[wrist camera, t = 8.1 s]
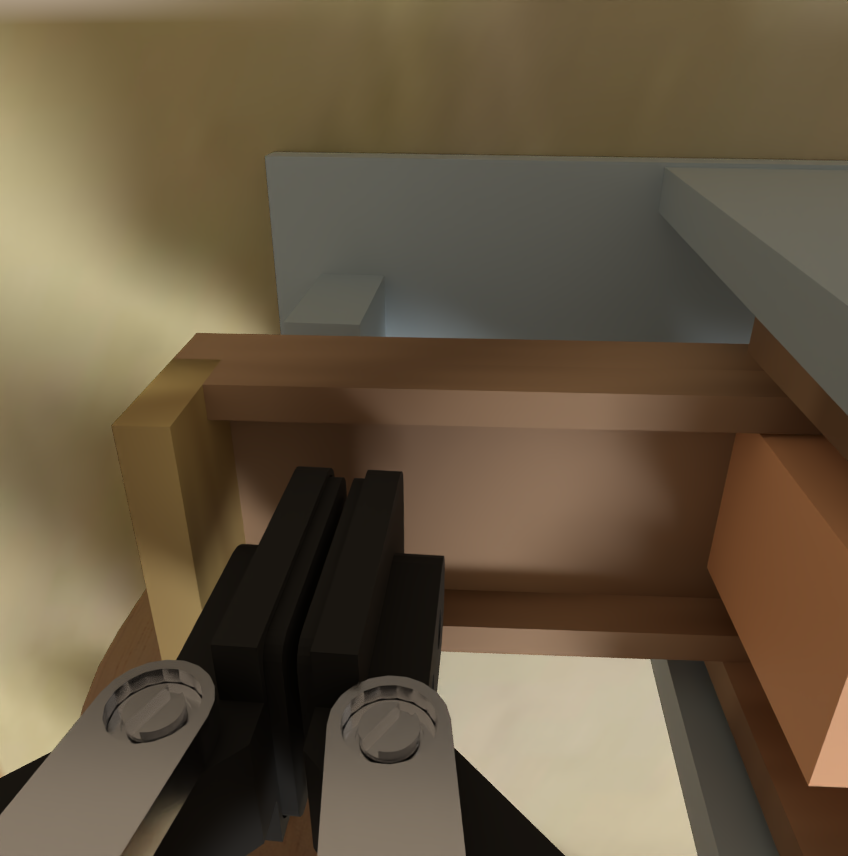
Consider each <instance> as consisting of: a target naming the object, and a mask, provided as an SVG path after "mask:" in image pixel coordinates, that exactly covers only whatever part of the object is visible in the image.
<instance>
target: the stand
mask: <svg viewBox="0 0 848 856" xmlns="http://www.w3.org/2000/svg"><path fill="white" fill-rule="evenodd" d="M265 164H266V175H267V186H268V197H269V208H270V219H271V230H272V241H273V252H274V263H275V274H276V285H277V296H278V307H279V318H280V329H281V335H319V336H371V337H422V338H473V339H524V340H576V341H627V342H678V343H729V344H749V342H750V338H751V333H752V329H753V324H754V319H755V316H756V318H757V319H758V320H759V321H760V322H761V323H762V324H763V325H764V326H765V327H766V328H767V329H768V330H769V332H770V333H771V334H772V335H773V336H774V337H775V338H776V339H777V340H778V341H779V342H780V343H781V344H782V345H783V347H784V348H785V349H786V350H787V351H788V352H789V353H790V354H791V355H792V356H793V357H794V358H795V359H796V361H797V362H798V363H799V364H800V365H801V366H802V367H803V368H804V369H805V370H806V371H807V372H808V373H809V375H810V376H811V377H812V378H813V379H814V380H815V381H816V382H817V383H818V384H819V385H820V386H821V387H822V388H823V390H824V391H825V392H826V393H827V394H828V395H829V396H830V397H831V398H832V399H833V400H834V401H835V402H836V404H837V405H838V406H839V407H840V408H841V409H842V410H843V411H844V412H845V413H846V414H847V415H848V161H841V160H776V159H711V158H646V157H581V156H517V155H452V154H387V153H322V152H272V153H270V154H268V155H266V156H265ZM650 660H651V664H652V668H653V672H654V676H655V681H656V685H657V689H658V693H659V697H660V701H661V705H662V710H663V714H664V718H665V722H666V726H667V730H668V734H669V738H670V743H671V747H672V751H673V755H674V759H675V763H676V767H677V772H678V776H679V780H680V784H681V788H682V792H683V796H684V801H685V805H686V809H687V813H688V817H689V821H690V825H691V830H692V834H693V838H694V842H695V846H696V850H697V854H698V856H779V853H778V851H777V848H776V846H775V843H774V840H773V838H772V835H771V833H770V830H769V828H768V825H767V822H766V820H765V817H764V815H763V812H762V810H761V807H760V804H759V802H758V799H757V797H756V794H755V791H754V789H753V786H752V784H751V781H750V779H749V776H748V773H747V771H746V768H745V766H744V763H743V761H742V758H741V755H740V753H739V750H738V748H737V745H736V743H735V740H734V737H733V735H732V732H731V730H730V727H729V725H728V722H727V719H726V717H725V714H724V712H723V709H722V707H721V704H720V701H719V699H718V696H717V694H716V691H715V689H714V686H713V683H712V681H711V678H710V676H709V673H708V671H707V668H706V665H705V663H704V661H691V660H664V659H650Z"/></svg>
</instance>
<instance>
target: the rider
mask: <svg viewBox="0 0 848 856" xmlns="http://www.w3.org/2000/svg"><path fill="white" fill-rule="evenodd" d="M707 569H708V571H709V573H710V575H711V577H712V579H713V582H714V584H715V586H716V588H717V590H718V592H719V594H720V597H721V599H722V601H723V603H724V605H725V607H726V610H727V612H728V614H729V616H730V618H731V620H732V622H733V625H734V627H735V629H736V631H737V633H738V635H739V638H740V640H741V642H742V644H743V646H744V648H745V650H746V653H747V655H748V657H749V659H750V661H751V663H752V666H753V668H754V670H755V672H756V674H757V676H758V679H759V681H760V683H761V685H762V687H763V689H764V691H765V694H766V696H767V698H768V700H769V702H770V704H771V707H772V709H773V711H774V713H775V715H776V717H777V719H778V722H779V724H780V726H781V728H782V730H783V732H784V735H785V737H786V739H787V741H788V743H789V745H790V747H791V750H792V752H793V754H794V756H795V758H796V760H797V763H798V765H799V767H800V769H801V771H802V773H803V775H804V778H805V780H806V782H807V784H808V786H822V787H846V788H848V461H847V460H846V459H845V458H844V457H843V456H842V455H841V454H840V453H839V452H838V450H837V449H836V448H835V447H834V446H833V445H832V444H831V443H830V442H829V441H828V440H827V438H826V437H825V436H824V435H804V434H763V433H736V436H735V440H734V445H733V449H732V454H731V459H730V463H729V468H728V472H727V477H726V482H725V486H724V491H723V495H722V500H721V504H720V509H719V514H718V518H717V523H716V527H715V532H714V537H713V541H712V546H711V550H710V555H709V560H708V564H707Z"/></svg>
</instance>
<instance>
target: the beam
mask: <svg viewBox="0 0 848 856" xmlns="http://www.w3.org/2000/svg"><path fill="white" fill-rule="evenodd" d="M112 430H113V435H114V440H115V444H116V449H117V454H118V458H119V463H120V468H121V472H122V477H123V482H124V486H125V491H126V496H127V500H128V505H129V510H130V514H131V519H132V524H133V528H134V533H135V538H136V542H137V547H138V551H139V556H140V561H141V565H142V570H143V575H144V579H145V584H146V589H147V593H148V598H149V603H150V607H151V612H152V617H153V621H154V626H155V631H156V635H157V640H158V645H159V649H160V654H161V659H162V660H176V659H177V657H178V655H179V654H180V652H181V650H182V648H183V646H184V644H185V642H186V640H187V638H188V637H189V635H190V633H191V631H192V629H193V627H194V625H195V623H196V621H197V619H198V618H199V616H200V614H201V612H202V610H203V608H204V606H205V604H206V602H207V601H208V599H209V597H210V595H211V593H212V591H213V589H214V587H215V585H216V583H217V582H218V580H219V578H220V576H221V574H222V572H223V570H224V568H225V566H226V565H227V563H228V561H229V559H230V557H231V555H232V553H233V551H234V550H235V549H236V547H237V546H238V545H240V544H254V545H259V543H260V540H261V538H262V536H263V534H264V532H265V530H266V528H267V526H268V524H269V522H270V520H271V518H272V516H273V514H274V512H275V510H276V507H277V505H278V503H279V501H280V499H281V497H282V495H283V493H284V491H285V489H286V487H287V485H288V483H289V481H290V479H291V477H292V474H293V472H294V470H295V469H296V467H298V466H305V467H325V468H332V469H333V471H334V476H335V477H344V478H345V480H346V488H347V496H348V493H349V490H350V487H351V485H352V482H353V479H354V478H365V476H366V473H367V470H385V471H402V472H403V481H404V553H406V554H423V555H440V556H444V557H445V582H444V614H443V631H442V644H441V651H446V652H473V653H501V654H528V655H555V656H582V657H609V658H637V659H664V660H691V661H704V663H705V665H706V668H707V671H708V673H709V676H710V678H711V681H712V683H713V686H714V689H715V691H716V694H717V696H718V699H719V701H720V704H721V707H722V709H723V712H724V714H725V717H726V719H727V722H728V725H729V727H730V730H731V732H732V735H733V737H734V740H735V743H736V745H737V748H738V750H739V753H740V755H741V758H742V761H743V763H744V766H745V768H746V771H747V773H748V776H749V779H750V781H751V784H752V786H753V789H754V791H755V794H756V797H757V799H758V802H759V804H760V807H761V810H762V812H763V815H764V817H765V820H766V822H767V825H768V828H769V830H770V833H771V835H772V838H773V840H774V843H775V846H776V848H777V851H778V853H779V856H848V788H846V787H822V786H808V784H807V782H806V780H805V778H804V775H803V773H802V771H801V769H800V767H799V765H798V763H797V760H796V758H795V756H794V754H793V752H792V750H791V747H790V745H789V743H788V741H787V739H786V737H785V735H784V732H783V730H782V728H781V726H780V724H779V722H778V719H777V717H776V715H775V713H774V711H773V709H772V707H771V704H770V702H769V700H768V698H767V696H766V694H765V691H764V689H763V687H762V685H761V683H760V681H759V679H758V676H757V674H756V672H755V670H754V668H753V666H752V663H751V661H750V659H749V657H748V655H747V653H746V650H745V648H744V646H743V644H742V642H741V640H740V638H739V635H738V633H737V631H736V629H735V627H734V625H733V622H732V620H731V618H730V616H729V614H728V612H727V610H726V607H725V605H724V603H723V601H722V599H721V597H720V594H719V592H718V590H717V588H716V586H715V584H714V582H713V579H712V577H711V575H710V573H709V571H708V569H707V564H708V560H709V555H710V550H711V546H712V541H713V537H714V532H715V527H716V523H717V518H718V514H719V509H720V504H721V500H722V495H723V491H724V486H725V482H726V477H727V472H728V468H729V463H730V459H731V454H732V449H733V445H734V440H735V436H736V433H763V434H804V435H824V436H825V437H826V438H827V440H828V441H829V442H830V443H831V444H832V445H833V446H834V447H835V448H836V449H837V450H838V452H839V453H840V454H841V455H842V456H843V457H844V458H845V459H846V460H847V461H848V415H847V414H846V413H845V412H844V411H843V410H842V409H841V408H840V407H839V406H838V405H837V404H836V402H835V401H834V400H833V399H832V398H831V397H830V396H829V395H828V394H827V393H826V392H825V391H824V390H823V388H822V387H821V386H820V385H819V384H818V383H817V382H816V381H815V380H814V379H813V378H812V377H811V376H810V375H809V373H808V372H807V371H806V370H805V369H804V368H803V367H802V366H801V365H800V364H799V363H798V362H797V361H796V359H795V358H794V357H793V356H792V355H791V354H790V353H789V352H788V351H787V350H786V349H785V348H784V347H783V345H782V344H781V343H780V342H779V341H778V340H777V339H776V338H775V337H774V336H773V335H772V334H771V333H770V332H769V330H768V329H767V328H766V327H765V326H764V325H763V324H762V323H761V322H760V321H759V320H758V319H757V318H756V316H755V319H754V324H753V329H752V333H751V338H750V342H749V344H729V343H678V342H627V341H576V340H524V339H473V338H422V337H371V336H319V335H268V334H217V333H196V334H195V335H194V337H193V338H192V339H191V340H190V341H189V342H188V343H187V344H186V345H185V346H184V347H183V348H182V350H181V351H180V352H179V353H178V354H177V355H176V356H175V357H174V358H173V359H172V360H171V361H170V363H169V364H168V365H167V366H166V367H165V368H164V369H163V370H162V371H161V372H160V373H159V375H158V376H157V377H156V378H155V379H154V380H153V381H152V382H151V383H150V384H149V385H148V386H147V388H146V389H145V390H144V391H143V392H142V393H141V394H140V395H139V396H138V397H137V398H136V399H135V401H134V402H133V403H132V404H131V405H130V406H129V407H128V408H127V409H126V410H125V411H124V413H123V414H122V415H121V416H120V417H119V418H118V419H117V420H116V421H115V422H114V423H113V424H112Z"/></svg>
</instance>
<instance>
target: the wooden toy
mask: <svg viewBox="0 0 848 856" xmlns="http://www.w3.org/2000/svg"><path fill="white" fill-rule="evenodd" d="M161 660H162V659H161V654H160V649H159V645H158V640H157V635H156V631H155V626H154V621H153V617H152V612H151V607H150V603H149V598H148V593H147V589H146V590H145V591H144V593H143V594H142V596H141V597H140V599H139V600H138V602H137V603H136V605H135V606H134V608H133V610H132V611H131V613H130V614H129V616H128V617H127V619H126V620H125V622H124V623H123V625H122V626H121V628H120V629H119V631H118V633H117V634H116V636H115V638H114V640H113V642H112V643H111V645H110V647H109V649H108V650H107V652H106V654H105V656H104V658H103V659H102V661H101V663H100V665H99V667H98V669H97V672H96V674H95V677H94V679H93V682H92V685H91V687H90V690H89V692H88V695H87V697H86V700H85V703H84V705H83V708H82V712H81V715H82V714H83V713H84V712H85V711H86V709H87V708H88V707H89V706H90V704H91V703H92V702H93V701H94V699H95V698H96V697H97V696H98V695H99V693H100V692H101V691H102V690H103V689H104V688H105V687H106V686H108V685H109V684H110V683H111V682H112V681H113V680H114V679H115V678H117V677H119V676H120V675H122V674H124V673H125V672H127V671H129V670H130V669H133V668H135V667H138V666H141V665H143V664H146V663H149V662H155V661H161ZM80 717H81V716H80ZM246 856H317V852H316V851H315V849H314V848H313V839H312V830H311V820H310V810H309V801H308V800H307V803H306V807H305V810H304V813H303V815H302V816H301V817H297V816H290V817H289V821H288V825H287V828H286V832H285V836H284V839H283V842H278V841H267V840H265V842H264V844H263V845H261V846H260V847H258V848H257V849H255V850H254V851H252V852H251V853H249V854H248V855H246Z"/></svg>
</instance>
